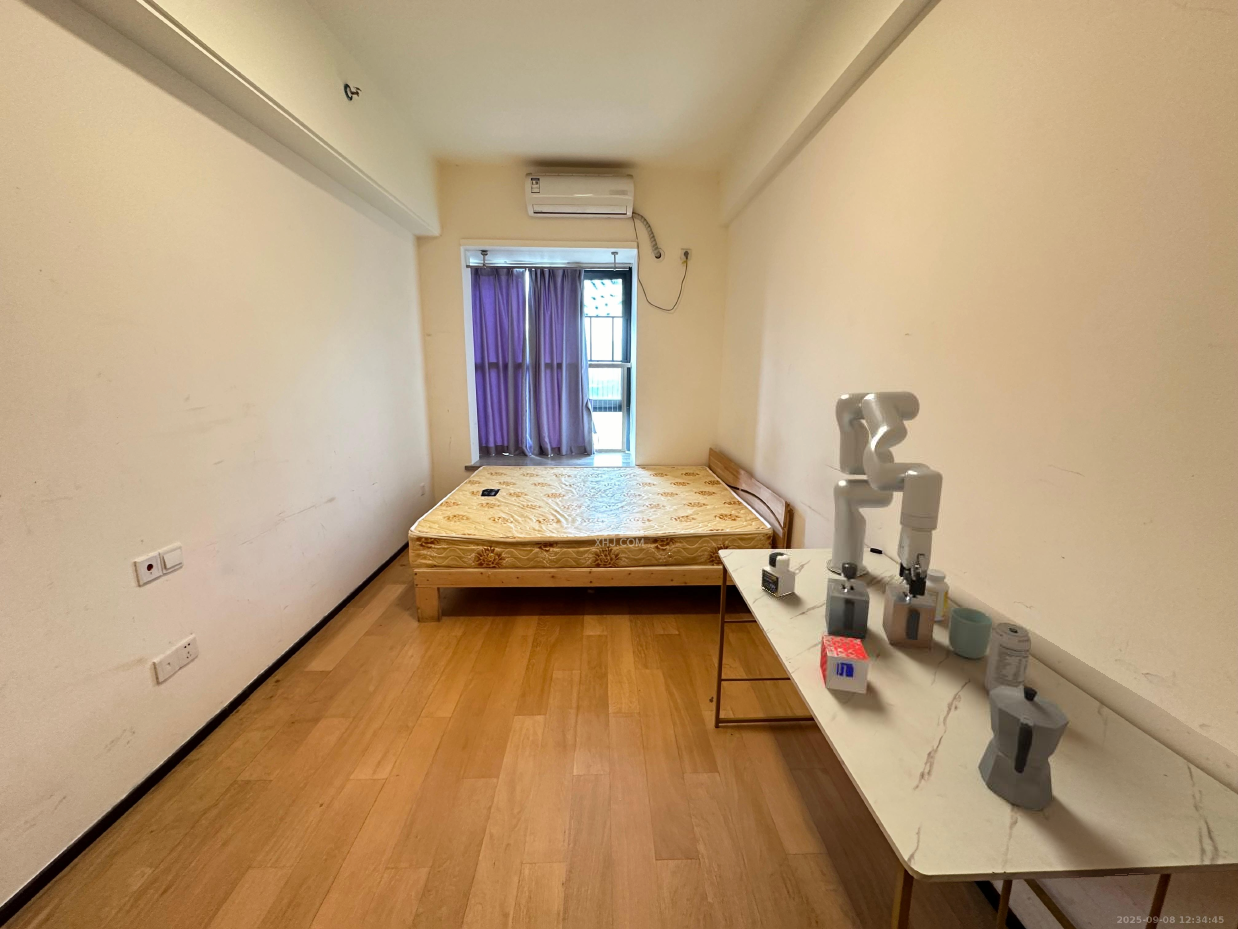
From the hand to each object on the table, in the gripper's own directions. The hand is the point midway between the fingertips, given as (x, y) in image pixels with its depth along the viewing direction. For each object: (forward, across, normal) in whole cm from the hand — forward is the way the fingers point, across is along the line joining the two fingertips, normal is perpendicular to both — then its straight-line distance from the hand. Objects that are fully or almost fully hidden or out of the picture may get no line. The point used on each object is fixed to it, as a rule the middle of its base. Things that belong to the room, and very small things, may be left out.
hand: (911, 585), depth 112 cm
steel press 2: (+14, 0, 0) cm, 14 cm away
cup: (+14, +3, +12) cm, 19 cm away
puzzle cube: (+15, +22, -17) cm, 31 cm away
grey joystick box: (+14, 0, -14) cm, 20 cm away
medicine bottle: (+15, -17, -31) cm, 38 cm away
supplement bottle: (+14, -14, +9) cm, 22 cm away
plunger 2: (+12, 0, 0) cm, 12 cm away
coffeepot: (+14, +43, +6) cm, 46 cm away
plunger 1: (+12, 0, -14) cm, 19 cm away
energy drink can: (+14, +17, +14) cm, 26 cm away
